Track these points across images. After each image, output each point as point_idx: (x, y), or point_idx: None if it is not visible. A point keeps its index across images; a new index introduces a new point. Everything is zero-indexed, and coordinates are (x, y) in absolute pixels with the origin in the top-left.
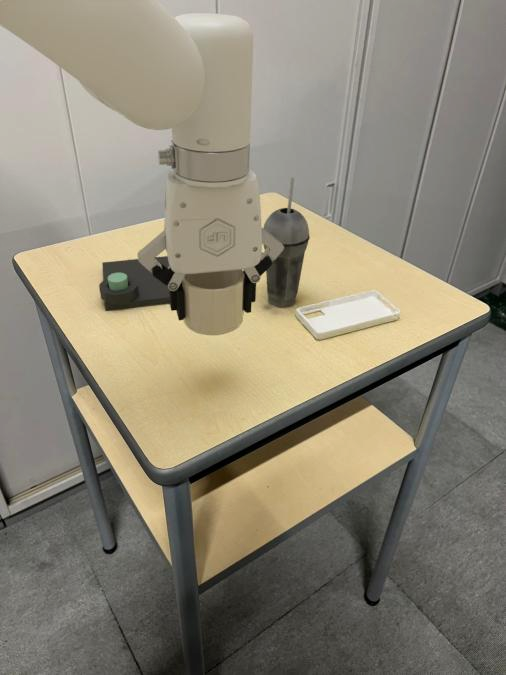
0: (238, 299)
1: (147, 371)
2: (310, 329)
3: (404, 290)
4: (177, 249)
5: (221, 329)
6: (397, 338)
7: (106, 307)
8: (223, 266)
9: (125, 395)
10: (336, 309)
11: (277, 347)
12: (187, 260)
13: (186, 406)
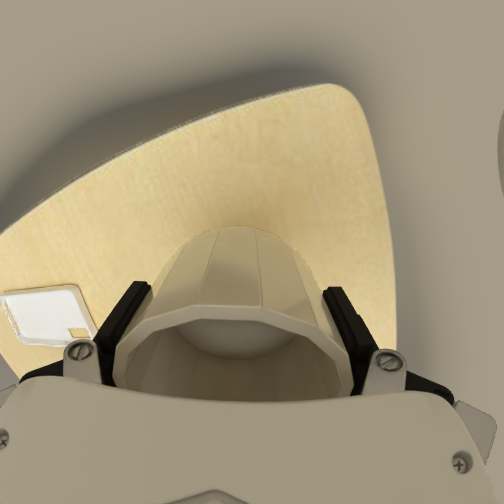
0: (153, 291)
1: (334, 279)
2: (82, 305)
3: (4, 333)
4: (472, 488)
5: (230, 231)
6: (5, 260)
7: None
8: (182, 420)
9: (373, 236)
10: (56, 332)
11: (129, 286)
12: (413, 452)
13: (297, 187)
